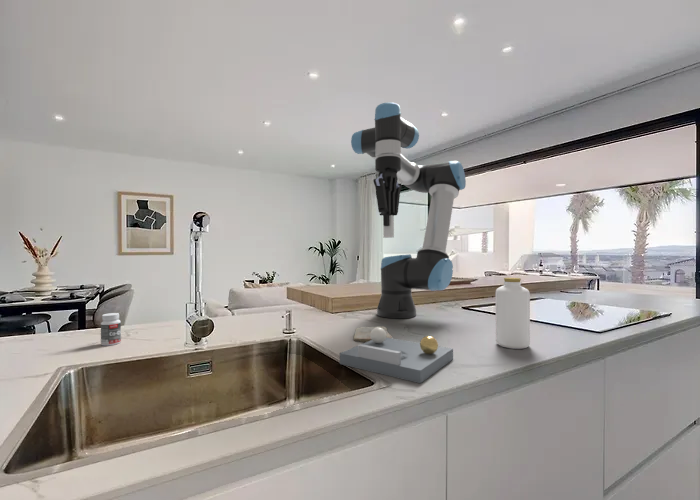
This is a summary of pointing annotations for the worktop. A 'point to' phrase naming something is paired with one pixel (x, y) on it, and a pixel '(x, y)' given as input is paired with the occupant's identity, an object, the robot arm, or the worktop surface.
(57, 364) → the worktop surface
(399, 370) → the board
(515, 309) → the potion bottle
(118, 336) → the pill bottle
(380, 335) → the white ball
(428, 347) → the brass ball
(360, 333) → the stone
